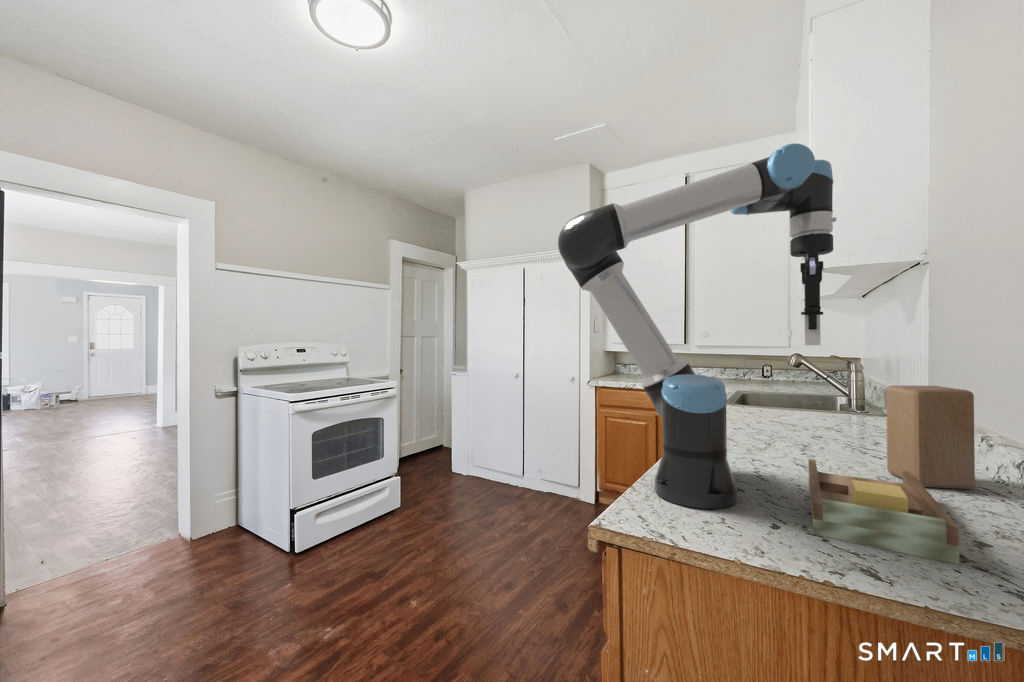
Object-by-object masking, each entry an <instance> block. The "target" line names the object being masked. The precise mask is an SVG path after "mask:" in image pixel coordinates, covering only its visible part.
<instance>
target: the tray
mask: <svg viewBox="0 0 1024 682" xmlns="http://www.w3.org/2000/svg"><path fill="white" fill-rule="evenodd" d="M852 480H858V481H866V482H873V483H880V484H887V485H894V486H900V488H901V489H902V490H903V492H904V493H905V495H906V496H907V498H908V513H904V512H898V511H892V510H886V509H880V508H874V507H868V506H862V505H856V504H852ZM808 488H809V489H808V490H809V499H810V507H811V508H810V509H811V510H810V512H811V518H812V519H811V520H812V530H813V531H812V533H813V536H814V535H815V536H819V537H824V538H830V539H833V540H838V541H844V542H848V543H852V544H859V545H863V546H868V547H872V548H877V549H882V550H887V551H891V552H892V551H893V552H896V553H900V552H901V553H902V554H906V555H911V556H915V555H916V557H920V556H922V557H921V558H925V557H927V558H926V559H929V558H930V559H931V560H935V561H940V562H945V563H949V564H954V565H960V528H959V526H958V525H957V524H956V523H955V521H953V519H952V518H951V516H949V515H948V513H947V512H946V511H945V509H943V507H942V506H941V505H940V504H939V503H938V501H937V500H936V499H935V498H934V497H933V495H932V494H930V492H929V491H928V490H927V489H926V487H924V486H923V485H922V484H921V483H920V482H919V480H918V479H917V478H916V477H915V476H914V475H913V473H912V472H909V471H903V479H902V482H894V481H888V480H887V481H886V480H879V479H871V478H864V477H858V476H851V475H842V474H837V473H836V474H835V473H834V474H833V473H827V472H820V471H818V468H817V461H816V459H810V458H809V459H808ZM930 559H929V560H930Z"/></svg>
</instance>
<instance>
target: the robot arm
mask: <svg viewBox="0 0 1024 682" xmlns="http://www.w3.org/2000/svg"><path fill="white" fill-rule="evenodd" d="M833 185H834V179H833V169H832V164H831V162H829V161H828V160H825V159H815V156H814V153H813V151H812V150H811V149H810V147H808V146H807V145H805V144H801V143H788V144H784V145H783V146H781V147H779V148H778V149H777V150H775V151H773V152H772V154H771V155H770V156H768V157H765V158H762V159H759V160H756V161H753V162H751V163H747V164H745V165H742V166H739V167H736V168H733V169H730V170H727V171H724V172H721V173H717V174H715V175H711V176H708V177H705V178H702V179H699V180H697V181H692V182H690V183H686V184H683V185H681V186H680V185H679V186H677V187H676V188H671V189H669V190H665V191H662V192H659V193H656V194H653V195H650V196H647V197H643V198H641V199H638V200H635V201H631V202H629V203H625V204H623V205H619V204H617V203H615V202H613V203H610V204H607V205H604V206H601V207H598V208H595V209H591V210H589V211H586V212H583V213H581V214H578V215H576V216H574V217H572V218H570V219H569V220H568V221H567V222H566V223H565V224H564V226H563V227H562V229H561V230H560V232H559V234H558V235H559V236H558V239H557V246H558V251H559V254H560V256H561V258H562V259H563V262H564V264H565V265H566V267H567V269H568V270H569V271H570V272H571V274H572V275H573V277H574V279H575V281H576V282H577V284H578V285H579V287H580V289H581V290H583V291H587V292H591V294H592V295H593V297H594V299H595V300H596V302H597V303H598V305H599V307H600V308H601V311H602V312H603V314H604V315H605V316H606V319H607V320H608V321H609V323H610V324H611V326H612V329H614V332H615V333H616V334H617V336H618V337H619V339H620V341H621V343H623V345H624V348H626V351H627V352H628V353H629V355H630V357H631V358H632V359H633V361H634V363H635V364H636V366H637V368H638V370H639V371H640V373H641V374H642V375H643V380H642V384H641V387H642V388H643V390H644V391H645V393H646V394H647V396H648V398H649V399H650V401H651V403H652V405H653V407H654V408H655V411H656V413H657V414H658V415H659V417H661V419H662V444H663V445H662V449H663V450H662V451H663V452H662V456H661V460H660V461H659V462H660V463H659V464H658V467H657V468H658V469H657V471H656V474H655V477H654V492H655V493H656V494H657V495H658V497H660V498H662V499H664V500H666V501H668V502H670V503H673V504H677V505H680V506H684V507H689V508H695V509H706V510H707V509H708V510H709V509H713V510H714V509H715V510H717V509H725V508H730V507H732V506H734V505H736V504H737V503H738V501H739V500H738V499H739V498H738V495H739V494H738V487H737V484H736V480H735V478H734V475H733V472H732V470H731V467H730V465H729V462H728V461H729V460H728V458H727V457H728V453H727V446H728V445H727V402H728V396H727V393H726V391H727V390H726V386H725V384H724V382H723V381H722V380H720V379H718V378H716V377H713V376H707V375H703V374H702V375H701V374H696V373H695V371H694V370H693V368H692V367H691V366H690V363H689V362H688V361H687V360H684V359H680V358H677V356H676V354H675V353H674V351H673V350H672V348H671V347H670V345H669V344H668V341H666V339H665V337H664V336H663V334H662V333H661V331H660V330H659V327H658V326H657V324H656V323H655V322H654V320H653V318H652V317H651V315H650V314H649V312H648V311H647V309H646V307H645V306H644V304H643V303H642V301H641V300H640V298H639V297H638V295H637V293H636V292H635V291H634V288H633V287H632V286H631V283H630V282H629V281H628V280H627V277H626V276H625V274H624V273H623V269H624V264H625V262H624V260H623V259H622V258H621V256H620V254H619V253H618V252H617V251H621V250H623V249H626V248H627V246H628V245H629V244H630V242H633V241H636V240H639V239H642V238H646V237H649V236H653V235H655V234H658V233H662V232H666V231H668V230H671V229H674V228H678V227H681V226H684V225H687V224H691V223H694V222H697V221H700V220H703V219H704V220H705V219H707V218H710V217H713V216H716V215H719V214H722V213H726V212H728V211H730V212H731V214H733V215H735V216H736V215H739V216H740V215H746V216H749V215H755V214H756V215H757V214H764V213H765V214H767V213H778V212H780V213H781V212H789V237H790V238H792V239H791V240H790V245H789V246H790V247H789V248H790V249H789V250H790V253H789V254H790V257H794V258H803V257H804V262H801V263H800V267H799V268H800V269H799V271H800V273H801V284H802V285H803V286H804V287H803V289H804V308H803V311H801V312H800V315H801V316H803V317H804V318H803V319H804V346H821V315H824V311H821V309H822V308H821V282H822V281H823V270H824V269H823V268H824V260H821V261H820V260H819V258H820V257H819V256H823V255H827V254H830V253H833V252H834V235H833V234H832V232H833V229H834V225H833V223H835V222H836V221H837V218H836V217H835V216H834V217H833V212H834V211H833V193H834V192H833V187H834V186H833Z"/></svg>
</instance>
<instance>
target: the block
mask: <svg viewBox="0 0 1024 682" xmlns="http://www.w3.org/2000/svg"><path fill="white" fill-rule="evenodd" d="M885 391H886V392H885V394H886V395H885V396H886V455H887V456H886V457H887V458H886V459H887V460H886V462H887V463H886V465H887V466H886V467H887V472H888V473H889V474H891V475H894V476H896V477H898V478H899V479H902V480H903V471H909V472H912V473H913V475H914V476H915V477H916V478H917V479H918V480H919V482H920V483H921V484H922V485H923V486H924V488H934V489H935V488H936V489H954V490H957V489H959V490H960V489H961V490H971V489H974V488H975V487H976V486H975V485H976V479H975V478H976V477H975V476H976V475H975V473H976V471H975V466H976V465H975V463H976V462H975V395H974V393H973V392H972V391H970V390H968V389H962V388H953V387H947V386H938V385H905V384H904V385H900V384H899V385H897V384H895V385H894V384H893V385H889V386H887V387H886V390H885Z"/></svg>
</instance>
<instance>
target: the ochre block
mask: <svg viewBox="0 0 1024 682" xmlns="http://www.w3.org/2000/svg"><path fill="white" fill-rule="evenodd" d="M852 504H856V505H862V506H868V507H874V508H880V509H886V510H892V511H898V512H904V513H908V498H907V496H906V495H905V493H904V492H903V490H902V489H901V488H900V486H894V485H887V484H880V483H873V482H866V481H858V480H852Z"/></svg>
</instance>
